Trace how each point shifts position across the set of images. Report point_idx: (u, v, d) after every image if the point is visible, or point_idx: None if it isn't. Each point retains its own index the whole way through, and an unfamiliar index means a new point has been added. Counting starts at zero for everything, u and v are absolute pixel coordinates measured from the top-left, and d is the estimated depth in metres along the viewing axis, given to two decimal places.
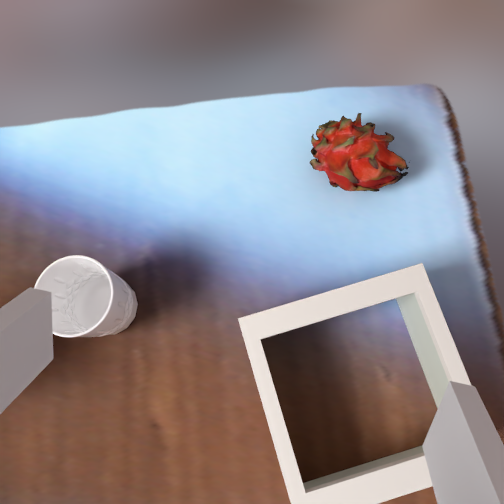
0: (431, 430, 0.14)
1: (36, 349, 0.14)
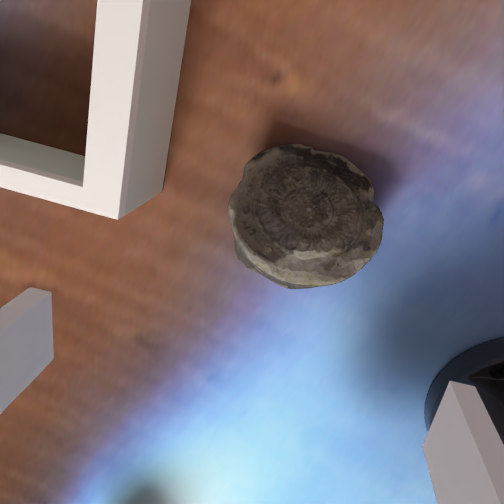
0: (431, 430, 0.14)
1: (36, 349, 0.14)
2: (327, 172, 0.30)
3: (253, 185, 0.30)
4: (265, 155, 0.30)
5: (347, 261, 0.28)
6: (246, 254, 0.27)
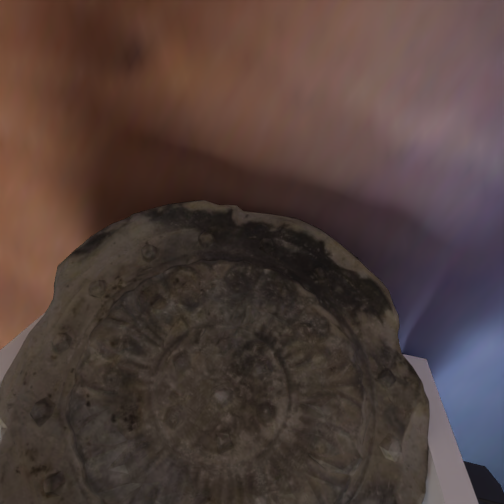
0: None
1: None
2: (273, 275, 0.12)
3: (75, 325, 0.11)
4: (109, 240, 0.12)
5: None
6: None
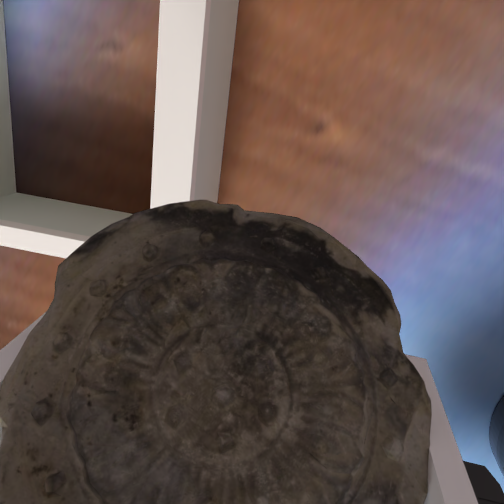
0: None
1: None
2: (274, 274, 0.12)
3: (76, 325, 0.11)
4: (110, 240, 0.12)
5: None
6: None
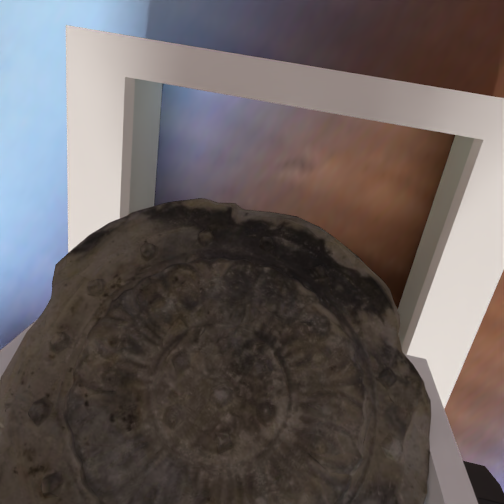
0: None
1: None
2: (273, 274, 0.11)
3: (73, 324, 0.11)
4: (108, 238, 0.12)
5: None
6: None
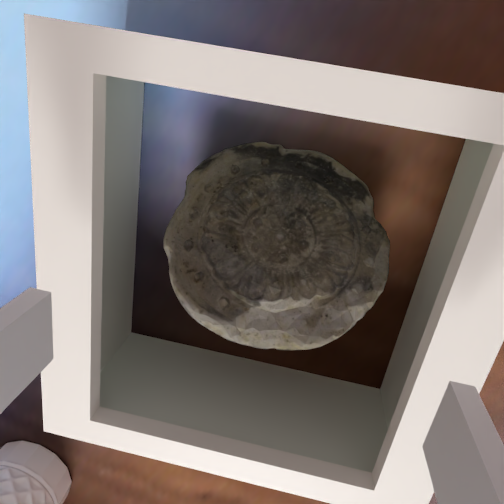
0: (431, 430, 0.14)
1: (36, 349, 0.14)
2: (304, 179, 0.21)
3: (199, 206, 0.21)
4: (213, 163, 0.21)
5: (340, 309, 0.19)
6: (189, 312, 0.18)
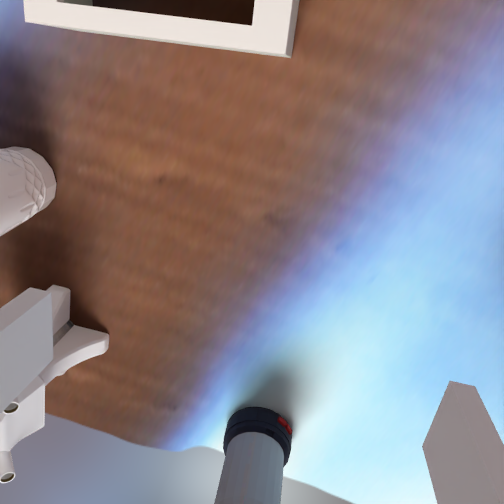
0: (431, 430, 0.14)
1: (36, 349, 0.14)
2: None
3: None
4: None
5: None
6: None
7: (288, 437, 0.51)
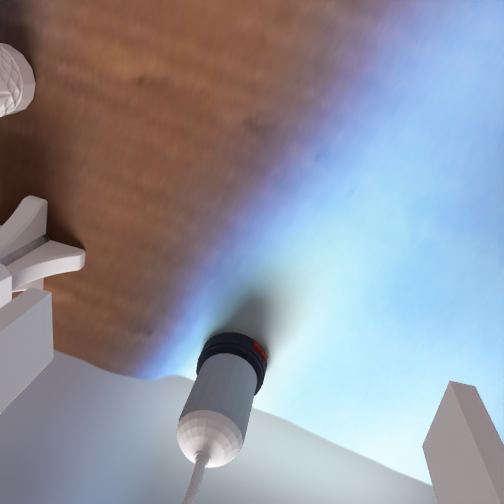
0: (431, 430, 0.14)
1: (36, 349, 0.14)
2: None
3: None
4: None
5: None
6: None
7: (262, 362, 0.50)
